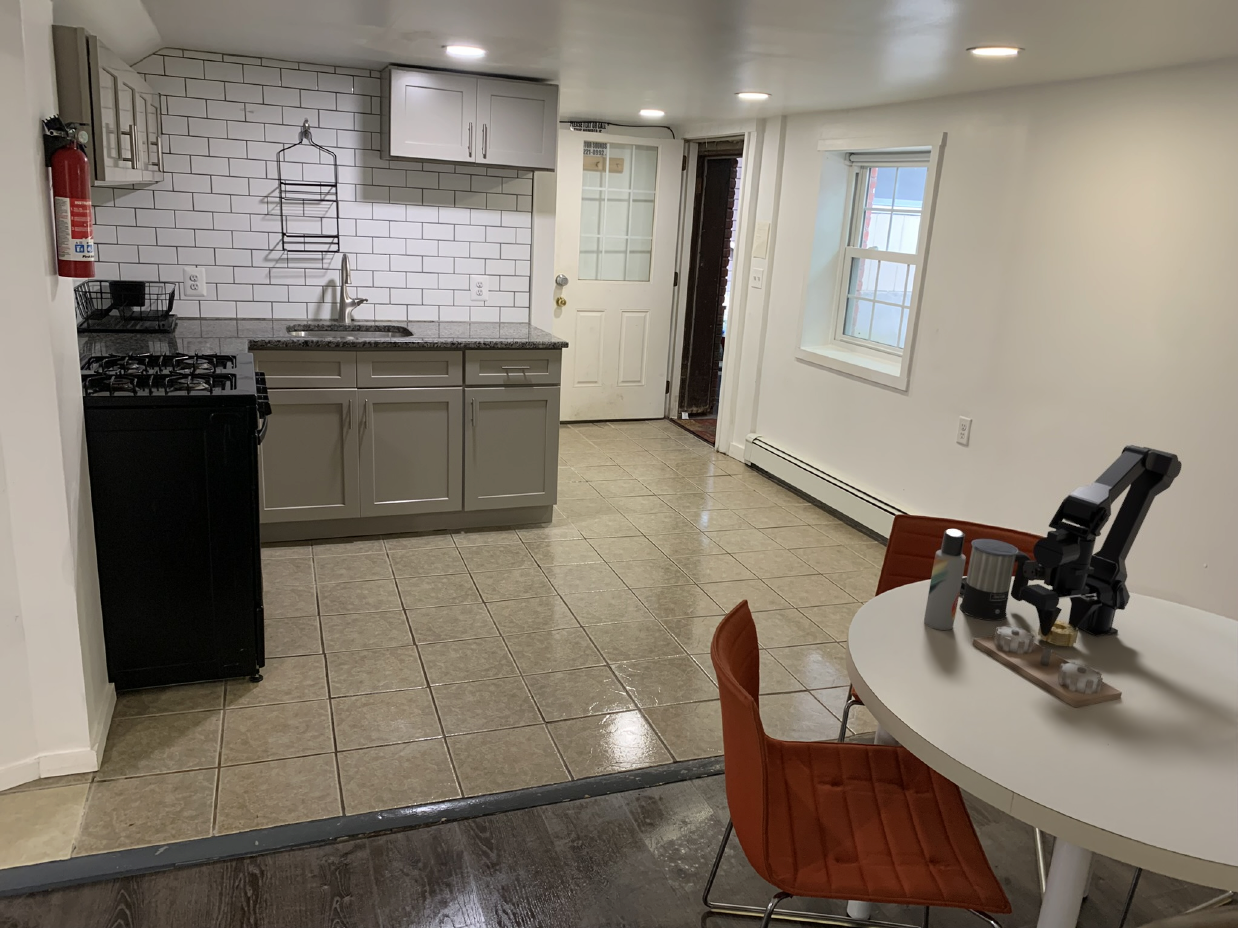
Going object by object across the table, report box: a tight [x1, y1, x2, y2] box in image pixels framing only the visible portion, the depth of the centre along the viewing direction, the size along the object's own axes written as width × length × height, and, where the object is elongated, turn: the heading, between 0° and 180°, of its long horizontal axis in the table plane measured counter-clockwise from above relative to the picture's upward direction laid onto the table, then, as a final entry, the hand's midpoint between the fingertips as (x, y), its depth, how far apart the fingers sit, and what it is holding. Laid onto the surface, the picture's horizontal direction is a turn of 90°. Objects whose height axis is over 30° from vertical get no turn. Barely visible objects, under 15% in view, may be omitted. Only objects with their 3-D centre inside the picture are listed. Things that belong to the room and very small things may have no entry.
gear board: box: [972, 625, 1123, 708], centre depth 169 cm, size 24×11×4 cm, turn 23°
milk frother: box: [959, 538, 1032, 621], centre depth 195 cm, size 14×16×15 cm
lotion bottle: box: [923, 528, 967, 631], centre depth 183 cm, size 6×6×20 cm
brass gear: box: [1037, 619, 1079, 647], centre depth 181 cm, size 7×7×2 cm
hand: (1057, 633), depth 181 cm, fingers closed on brass gear, 7 cm apart
